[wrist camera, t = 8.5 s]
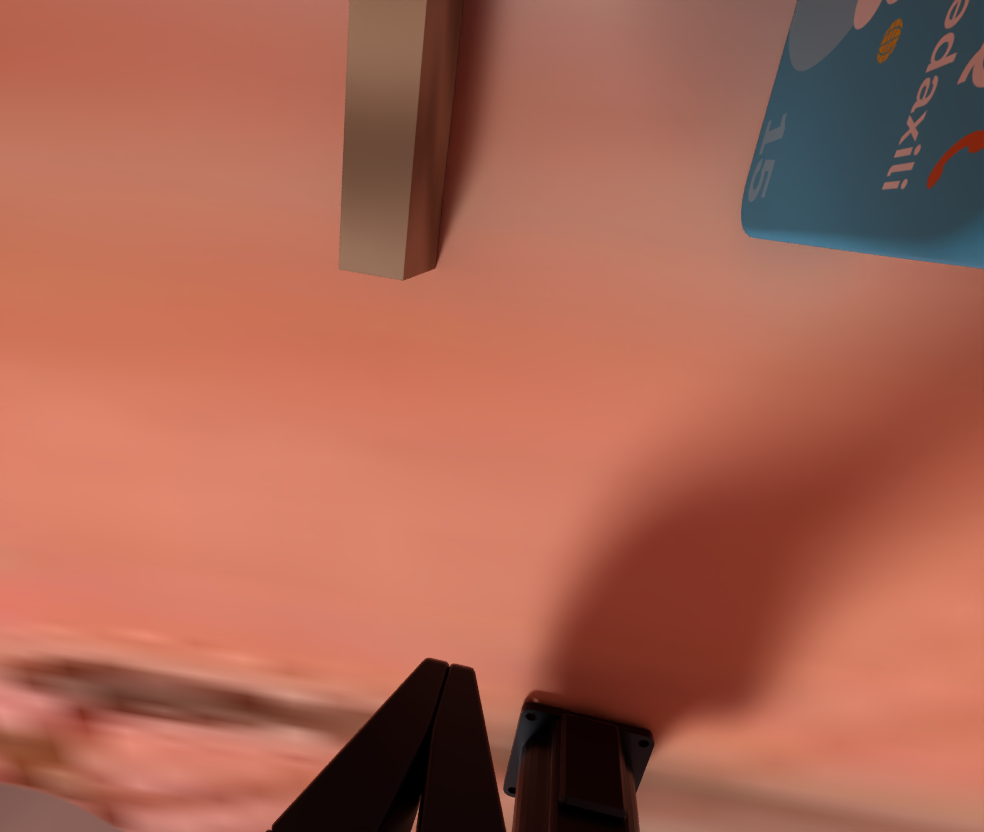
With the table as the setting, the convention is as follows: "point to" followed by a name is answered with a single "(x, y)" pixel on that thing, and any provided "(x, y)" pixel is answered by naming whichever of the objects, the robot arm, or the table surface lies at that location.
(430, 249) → the brown angled bar
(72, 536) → the table surface
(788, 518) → the table surface
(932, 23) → the data package
